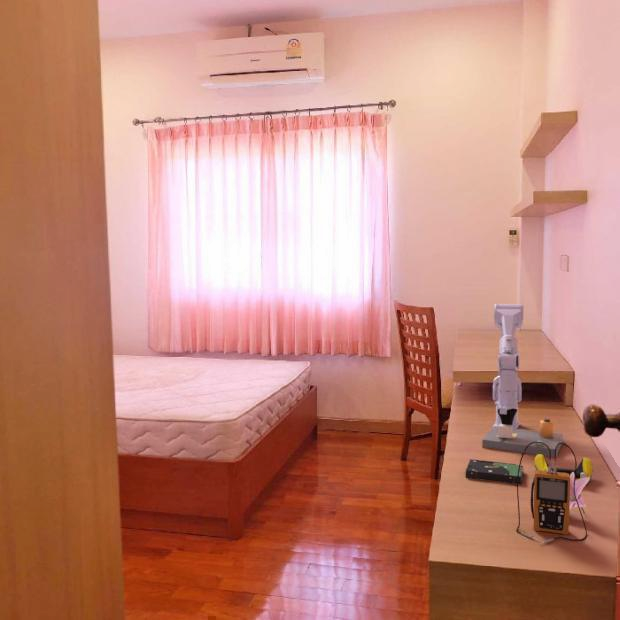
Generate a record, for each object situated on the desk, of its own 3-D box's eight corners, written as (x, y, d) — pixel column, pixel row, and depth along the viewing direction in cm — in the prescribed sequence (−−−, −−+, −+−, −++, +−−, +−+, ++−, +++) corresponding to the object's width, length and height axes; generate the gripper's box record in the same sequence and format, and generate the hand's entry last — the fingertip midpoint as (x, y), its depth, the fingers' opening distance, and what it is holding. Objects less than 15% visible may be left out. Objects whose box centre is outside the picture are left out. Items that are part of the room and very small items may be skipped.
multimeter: (514, 542, 130) (516, 450, 128) (516, 523, 139) (518, 437, 138) (590, 553, 125) (593, 458, 123) (586, 533, 134) (589, 444, 133)
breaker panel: (494, 432, 211) (494, 422, 211) (562, 441, 200) (563, 430, 200) (482, 447, 195) (482, 435, 195) (555, 457, 185) (556, 445, 184)
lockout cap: (540, 434, 201) (541, 417, 200) (553, 435, 199) (554, 418, 198) (538, 437, 197) (539, 420, 197) (552, 438, 195) (552, 421, 195)
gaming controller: (533, 471, 174) (535, 483, 164) (534, 452, 173) (536, 463, 164) (591, 476, 169) (596, 489, 160) (591, 456, 169) (597, 468, 159)
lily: (550, 504, 152) (536, 474, 150) (599, 492, 148) (585, 461, 146) (557, 539, 142) (542, 507, 139) (610, 527, 137) (594, 494, 135)
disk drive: (465, 480, 168) (522, 486, 163) (465, 470, 168) (522, 476, 163) (469, 468, 178) (523, 473, 173) (469, 458, 178) (523, 463, 172)
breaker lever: (499, 434, 199) (499, 423, 199) (512, 436, 197) (512, 425, 197) (497, 436, 196) (498, 426, 196) (510, 438, 194) (510, 427, 194)
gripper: (499, 384, 206) (499, 424, 207) (490, 393, 194) (489, 435, 195) (521, 386, 203) (520, 426, 204) (513, 395, 190) (512, 438, 191)
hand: (507, 431), depth 199 cm, fingers closed
